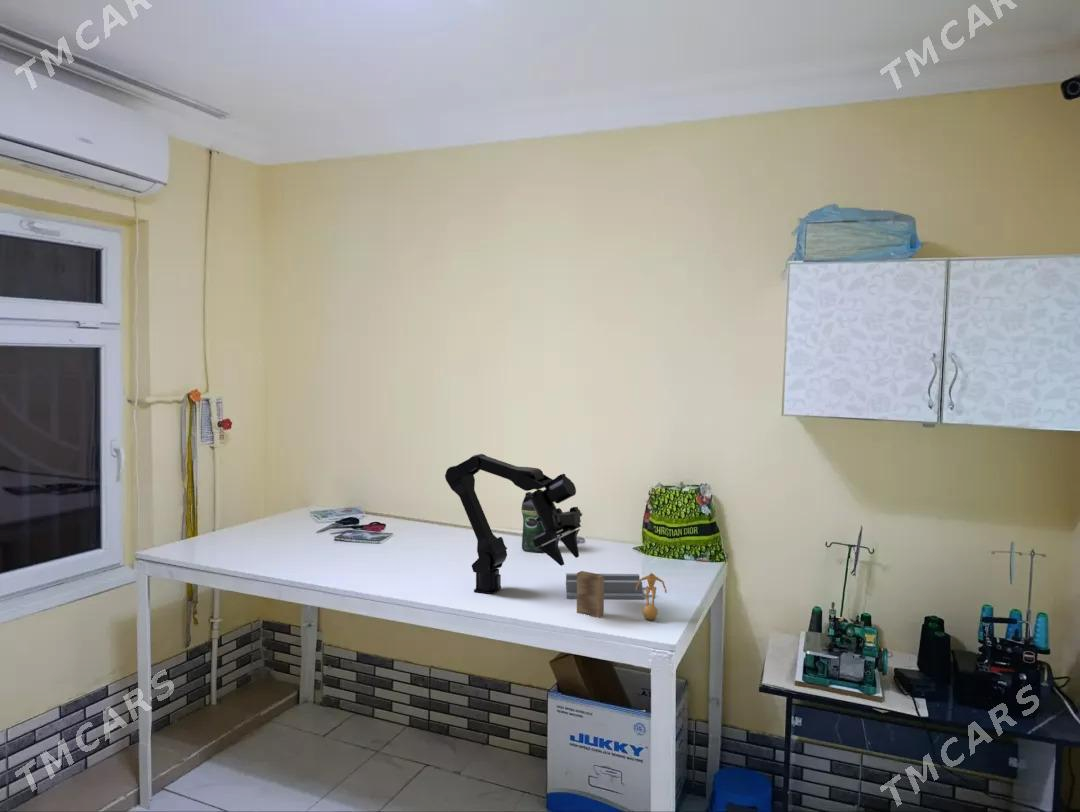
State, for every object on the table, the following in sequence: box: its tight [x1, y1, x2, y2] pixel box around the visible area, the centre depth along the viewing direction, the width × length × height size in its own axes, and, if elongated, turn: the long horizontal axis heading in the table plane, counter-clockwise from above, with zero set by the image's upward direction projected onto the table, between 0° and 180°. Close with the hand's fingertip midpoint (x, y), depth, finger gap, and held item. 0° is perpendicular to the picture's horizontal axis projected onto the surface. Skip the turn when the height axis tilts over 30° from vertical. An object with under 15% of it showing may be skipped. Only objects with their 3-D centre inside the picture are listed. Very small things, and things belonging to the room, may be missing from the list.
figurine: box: [635, 572, 667, 621], centre depth 191 cm, size 8×6×12 cm
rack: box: [565, 572, 644, 600], centre depth 214 cm, size 22×14×4 cm, turn 89°
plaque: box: [576, 570, 605, 619], centre depth 194 cm, size 7×2×11 cm, turn 56°
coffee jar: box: [520, 501, 545, 553], centre depth 260 cm, size 10×8×19 cm
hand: (570, 561), depth 201 cm, fingers open, 9 cm apart
